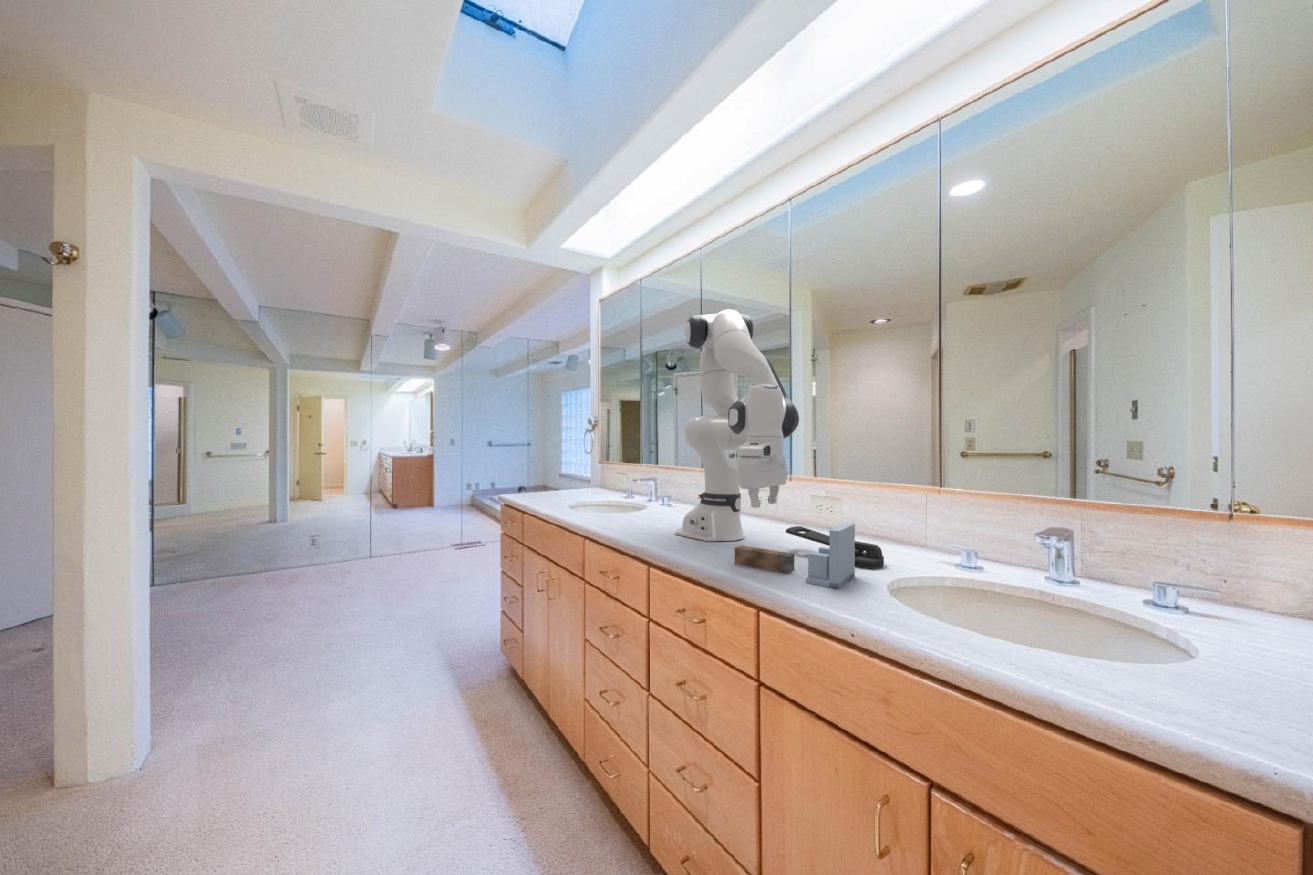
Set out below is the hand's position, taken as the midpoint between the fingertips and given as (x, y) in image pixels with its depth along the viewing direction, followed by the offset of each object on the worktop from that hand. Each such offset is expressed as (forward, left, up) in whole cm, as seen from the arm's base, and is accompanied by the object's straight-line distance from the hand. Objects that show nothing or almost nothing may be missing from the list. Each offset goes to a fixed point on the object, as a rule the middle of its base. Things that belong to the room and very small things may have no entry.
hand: (764, 505), depth 112 cm
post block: (+16, 0, -15) cm, 22 cm away
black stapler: (+10, +20, -15) cm, 27 cm away
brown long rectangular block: (0, 0, -15) cm, 15 cm away
